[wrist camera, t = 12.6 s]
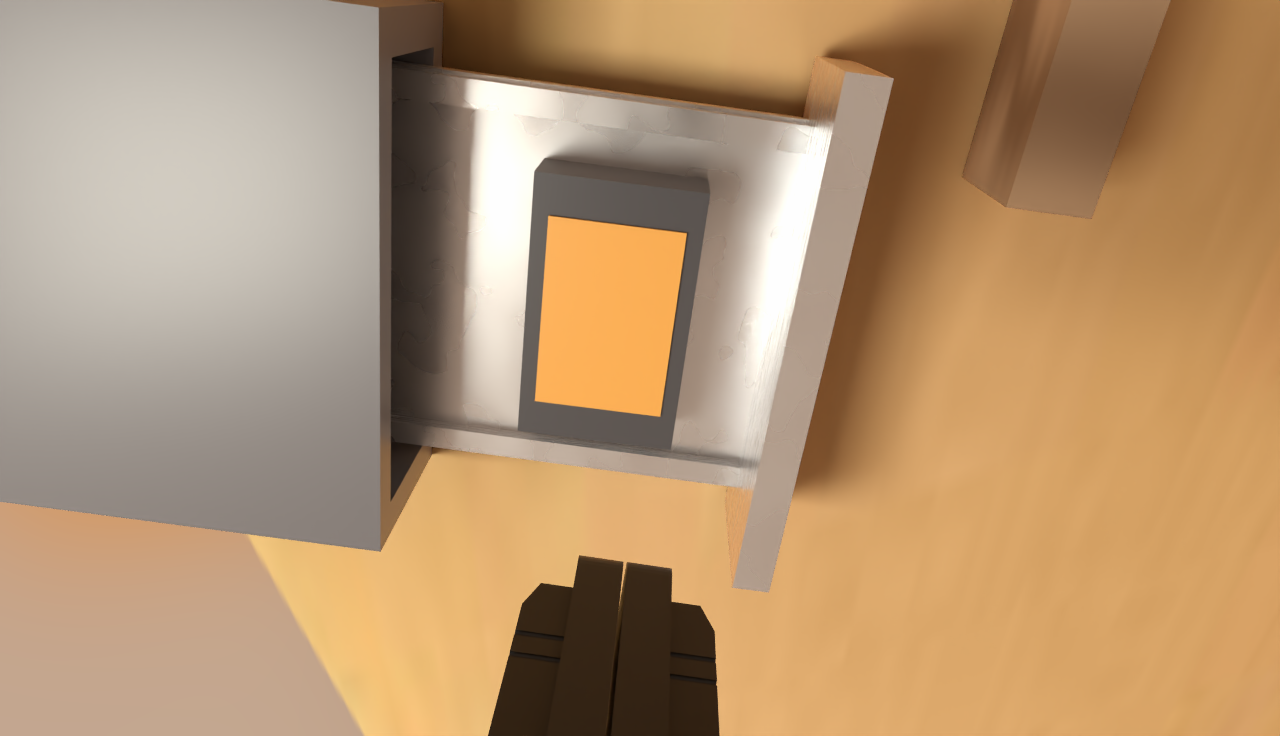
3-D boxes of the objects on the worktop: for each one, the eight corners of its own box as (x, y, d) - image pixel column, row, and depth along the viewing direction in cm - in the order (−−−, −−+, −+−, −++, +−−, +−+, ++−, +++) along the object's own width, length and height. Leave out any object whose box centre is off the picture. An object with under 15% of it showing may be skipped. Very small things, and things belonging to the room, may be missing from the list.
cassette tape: (544, 157, 25) (533, 171, 23) (708, 178, 25) (710, 194, 23) (527, 402, 29) (517, 432, 27) (671, 420, 29) (670, 451, 27)
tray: (329, -13, 25) (250, -12, 20) (855, 61, 25) (893, 78, 20) (341, 450, 32) (284, 528, 27) (756, 505, 32) (768, 592, 27)
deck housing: (-87, -72, 25) (-299, -88, 20) (443, 2, 25) (378, 7, 20) (12, 399, 32) (-125, 485, 26) (431, 455, 32) (380, 551, 27)
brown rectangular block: (1021, -29, 24) (1081, -31, 21) (1103, -17, 24) (1176, -18, 21) (961, 177, 27) (1006, 207, 23) (1035, 187, 27) (1091, 219, 23)
